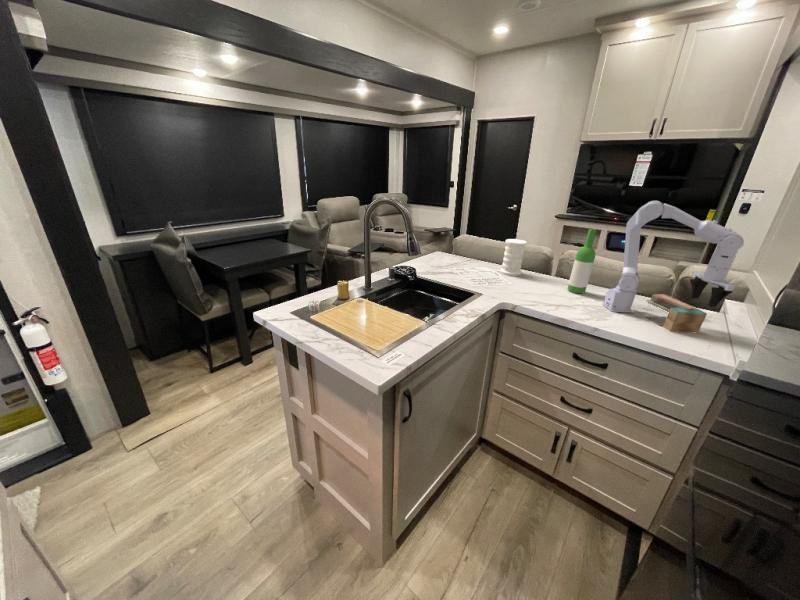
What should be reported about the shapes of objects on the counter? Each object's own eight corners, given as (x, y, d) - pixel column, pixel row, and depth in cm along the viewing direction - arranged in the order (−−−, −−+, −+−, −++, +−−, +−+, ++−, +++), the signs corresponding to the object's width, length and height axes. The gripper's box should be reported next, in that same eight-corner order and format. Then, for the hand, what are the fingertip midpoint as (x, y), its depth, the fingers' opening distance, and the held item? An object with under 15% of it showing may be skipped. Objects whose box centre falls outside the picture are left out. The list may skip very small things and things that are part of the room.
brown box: (669, 331, 116) (678, 311, 113) (662, 326, 119) (670, 307, 116) (697, 332, 115) (706, 313, 112) (690, 328, 119) (698, 309, 115)
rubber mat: (659, 325, 119) (659, 325, 119) (645, 316, 127) (646, 316, 127) (692, 327, 119) (692, 327, 119) (676, 318, 126) (676, 317, 126)
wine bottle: (588, 293, 149) (606, 230, 138) (577, 295, 147) (594, 231, 135) (574, 287, 156) (591, 227, 144) (563, 289, 153) (579, 227, 141)
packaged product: (648, 293, 140) (667, 292, 141) (644, 303, 142) (663, 302, 143) (687, 310, 123) (708, 309, 125) (682, 320, 125) (703, 320, 127)
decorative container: (519, 270, 180) (525, 239, 173) (522, 276, 169) (529, 244, 162) (498, 268, 182) (503, 238, 175) (500, 275, 171) (506, 242, 164)
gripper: (750, 273, 104) (732, 310, 109) (712, 261, 117) (697, 295, 122) (728, 272, 104) (711, 309, 109) (693, 260, 117) (679, 294, 122)
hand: (702, 302), depth 116 cm, fingers open, 7 cm apart
